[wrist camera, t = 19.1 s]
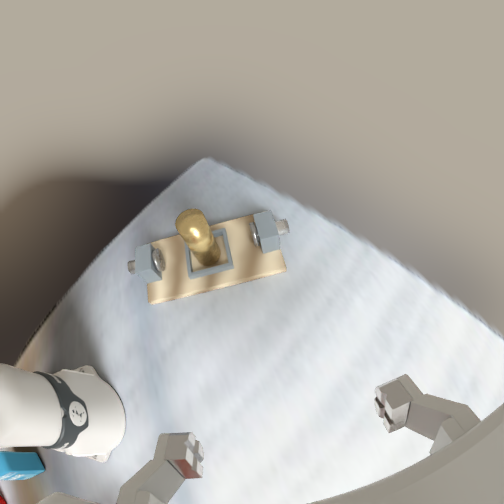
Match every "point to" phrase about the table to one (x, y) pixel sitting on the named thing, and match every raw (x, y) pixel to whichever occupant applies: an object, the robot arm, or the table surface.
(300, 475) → the table surface
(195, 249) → the cylinder
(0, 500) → the ceramic cup
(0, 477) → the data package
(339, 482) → the table surface
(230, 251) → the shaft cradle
